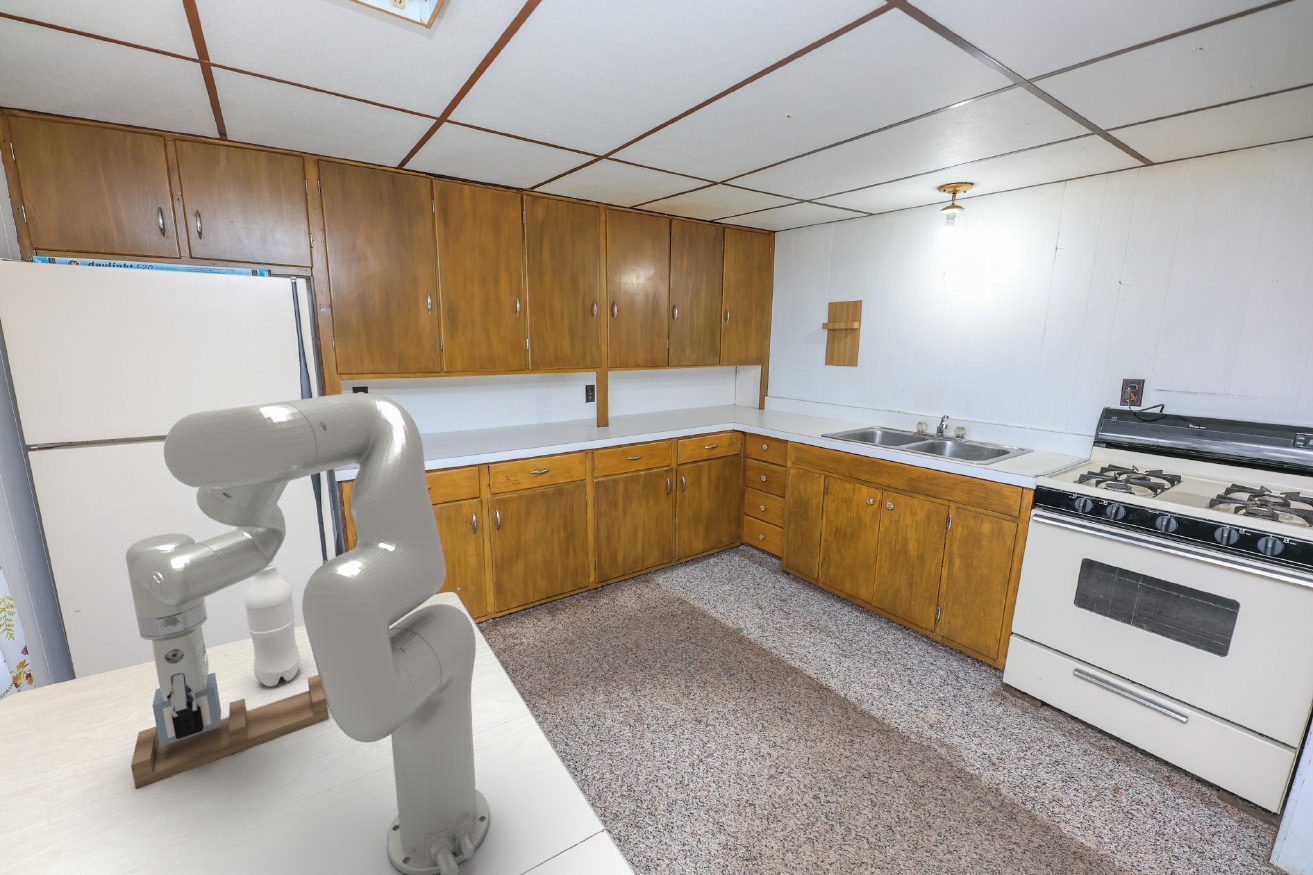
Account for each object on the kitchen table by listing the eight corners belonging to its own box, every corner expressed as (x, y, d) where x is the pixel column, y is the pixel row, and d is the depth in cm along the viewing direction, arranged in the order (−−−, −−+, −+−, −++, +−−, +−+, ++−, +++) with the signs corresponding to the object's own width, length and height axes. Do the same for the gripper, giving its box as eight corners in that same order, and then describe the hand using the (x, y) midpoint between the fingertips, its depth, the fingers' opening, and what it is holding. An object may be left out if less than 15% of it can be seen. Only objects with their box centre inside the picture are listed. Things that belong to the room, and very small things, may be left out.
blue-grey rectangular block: (220, 726, 83) (214, 686, 82) (160, 746, 79) (152, 705, 78) (221, 710, 87) (215, 672, 85) (163, 729, 83) (155, 689, 81)
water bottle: (248, 682, 100) (229, 558, 95) (288, 662, 106) (273, 544, 101) (269, 694, 97) (251, 567, 92) (309, 673, 103) (295, 552, 98)
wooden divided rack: (328, 718, 91) (326, 697, 90) (135, 788, 77) (130, 765, 76) (322, 693, 97) (320, 673, 97) (143, 754, 83) (138, 731, 82)
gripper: (203, 634, 75) (221, 746, 79) (208, 588, 88) (223, 686, 92) (129, 653, 70) (151, 770, 74) (146, 601, 83) (164, 703, 87)
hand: (191, 722), depth 83 cm, fingers closed on blue-grey rectangular block, 4 cm apart
